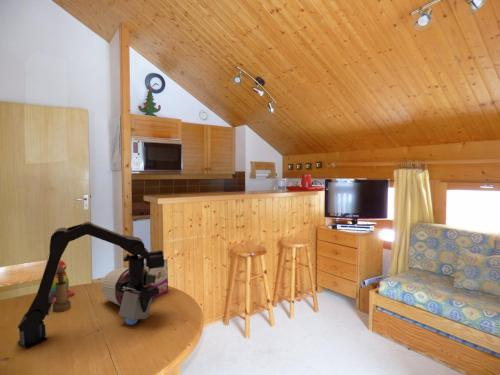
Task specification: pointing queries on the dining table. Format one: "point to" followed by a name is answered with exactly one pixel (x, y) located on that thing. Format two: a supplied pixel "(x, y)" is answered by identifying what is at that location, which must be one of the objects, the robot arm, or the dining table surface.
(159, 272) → the candy bar box
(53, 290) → the stacking bear
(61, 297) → the brown turned post
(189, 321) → the dining table surface
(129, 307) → the grey matte cube
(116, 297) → the canister
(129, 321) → the ball
